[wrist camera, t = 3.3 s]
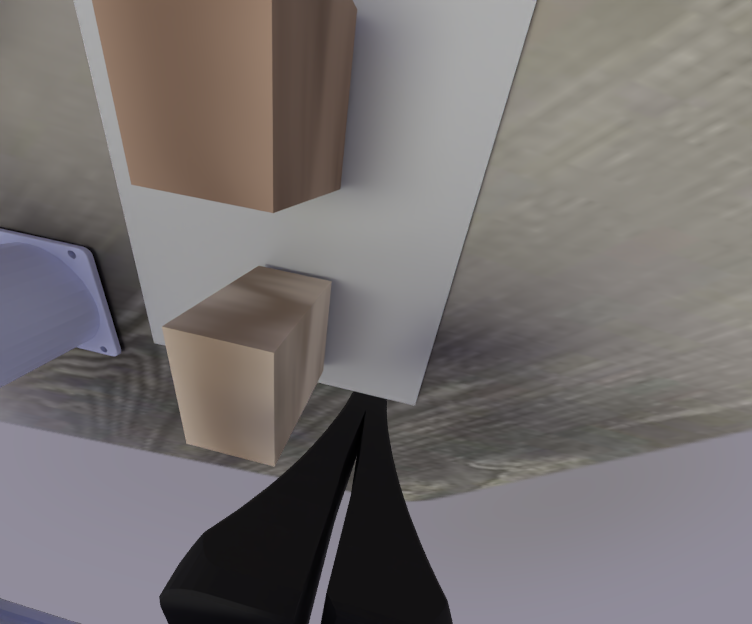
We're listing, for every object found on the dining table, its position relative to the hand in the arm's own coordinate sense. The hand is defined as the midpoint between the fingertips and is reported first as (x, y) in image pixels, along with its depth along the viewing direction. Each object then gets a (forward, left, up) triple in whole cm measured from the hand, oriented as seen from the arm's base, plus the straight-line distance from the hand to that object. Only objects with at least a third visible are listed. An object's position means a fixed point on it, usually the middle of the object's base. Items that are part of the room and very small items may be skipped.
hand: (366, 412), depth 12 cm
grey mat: (-6, +6, -6) cm, 11 cm away
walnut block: (-5, +11, -6) cm, 13 cm away
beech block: (-5, 0, -6) cm, 8 cm away
